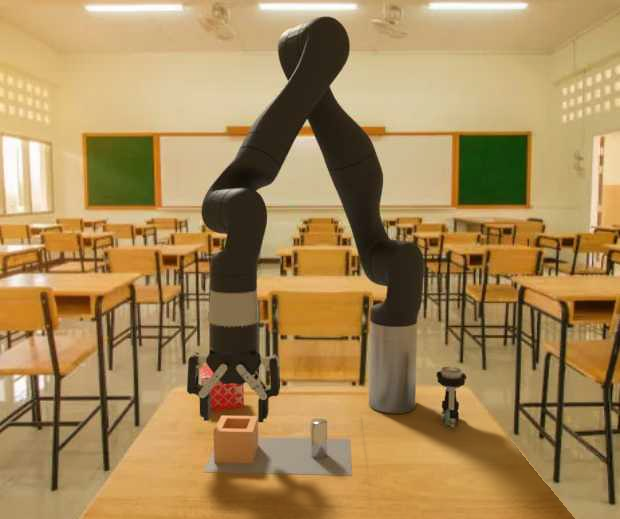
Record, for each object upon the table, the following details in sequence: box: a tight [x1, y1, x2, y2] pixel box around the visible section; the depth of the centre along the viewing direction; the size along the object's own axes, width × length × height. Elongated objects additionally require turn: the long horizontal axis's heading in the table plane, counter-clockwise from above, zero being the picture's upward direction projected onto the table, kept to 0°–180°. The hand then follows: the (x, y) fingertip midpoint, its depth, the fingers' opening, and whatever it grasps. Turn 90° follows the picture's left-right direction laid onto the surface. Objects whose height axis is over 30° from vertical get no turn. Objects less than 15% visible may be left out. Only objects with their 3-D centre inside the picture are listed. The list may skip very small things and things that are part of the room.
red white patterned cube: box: [198, 364, 245, 411], centre depth 110 cm, size 8×8×8 cm
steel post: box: [310, 418, 328, 459], centre depth 88 cm, size 3×3×7 cm
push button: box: [436, 366, 467, 428], centre depth 103 cm, size 7×5×10 cm
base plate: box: [203, 436, 353, 477], centre depth 88 cm, size 12×22×2 cm, turn 88°
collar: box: [213, 415, 259, 463], centre depth 88 cm, size 6×6×5 cm
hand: (234, 419), depth 88 cm, fingers open, 8 cm apart
